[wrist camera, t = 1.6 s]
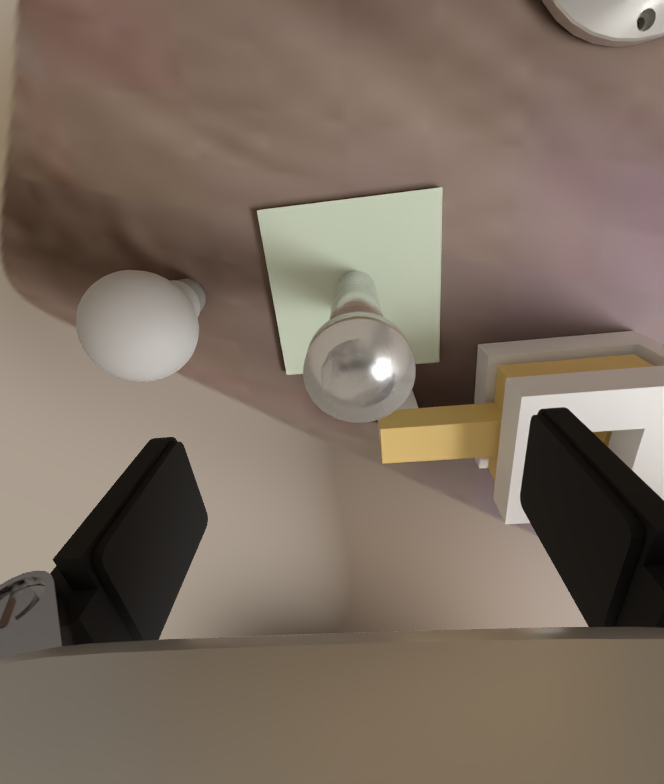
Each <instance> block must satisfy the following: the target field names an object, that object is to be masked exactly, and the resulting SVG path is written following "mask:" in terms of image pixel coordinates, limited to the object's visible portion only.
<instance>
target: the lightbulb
mask: <svg viewBox="0 0 664 784" xmlns="http://www.w3.org/2000/svg"><path fill="white" fill-rule="evenodd" d="M205 303H206V295H205V292H204V290H203V288H202V287H201V286H200V285H199V284H198V283H197V282H195V281H193V280H191V279H181V280H177V281H176V280H170V281H169V280H168V279H166V278H164V277H162V276H160V275H157V274H155V273H151V272H147V271H139V270H123V271H117V272H114V273H111V274H109V275H106V276H104V277H102V278H100V279H99V280H98V281H96V282H95V283H94V284H93V285H92V286H90V287H89V289H88V290H87V291H86V292H85V294H84V295H83V297H82V299H81V301H80V303H79V305H78V308H77V314H76V329H77V334H78V338H79V340H80V343H81V344H82V347H83V349H84V350H85V351H86V353H87V355H88V356H89V357H90V358H91V359H92V360H93V361H94V362H95V363H96V364H97V365H98V366H99V367H101V368H102V369H103V370H105V371H107V372H108V373H110V374H112V375H114V376H117V377H119V378H122V379H127V380H131V381H141V382H145V381H153V380H158V379H161V378H164V377H167V376H169V375H171V374H173V373H175V372H176V371H178V370H180V369H181V368H182V367H183V366H184V365H185V364H186V363H187V361H188V360H189V359H190V358H191V356H192V354H193V353H194V350H195V347H196V344H197V341H198V336H199V325H198V319H197V318H198V316H199V313H200V311H201V310H202V309H203V307H204V306H205Z"/></svg>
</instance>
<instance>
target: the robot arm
mask: <svg viewBox="0 0 664 784" xmlns="http://www.w3.org/2000/svg"><path fill="white" fill-rule="evenodd" d="M542 2H543V3H544V5H545V6H546V7H547V9H548V10H549V12H550V13H551V14H552V16H553V17H554V19H555V20H556V21H557V22H558V23H559V24H560V25H562V26H563V27H564V28H565V29H566V30H568V31H569V32H570V33H571V34H572V35H574V36H576V37H579V38H581V39H583V40H585V41H588V42H590V43H592V44H598V45H604V46H611V47H619V46H630V45H638V44H641V43H644V42H648V41H651V40H654V39H657V38H660V37H663V36H664V0H542ZM637 21H638V22H639V28H638V27H637ZM520 502H521V506H522V508H523V511H524V512H525V514H526V516H527V518H528V519H529V521H530V523H531V525H532V527H533V528H534V530H535V532H536V534H537V535H538V537H539V539H540V541H541V543H542V544H543V546H544V548H545V549H546V551H547V553H548V555H549V557H550V558H551V560H552V562H553V564H554V565H555V567H556V569H557V571H558V573H559V574H560V576H561V578H562V580H563V582H564V583H565V585H566V587H567V589H568V591H569V592H570V594H571V596H572V598H573V599H574V601H575V603H576V605H577V606H578V608H579V610H580V612H581V613H582V615H583V617H584V619H585V620H586V623H587V624H588V626H589V627H553V628H552V627H549V628H509V629H472V630H433V631H399V632H369V633H368V632H366V633H336V634H335V633H334V634H305V635H304V634H303V635H273V636H247V637H219V638H193V639H168V640H167V639H166V640H158V639H159V637H160V635H161V632H162V630H163V628H164V625H165V623H166V621H167V618H168V616H169V614H170V611H171V609H172V607H173V604H174V602H175V599H176V597H177V595H178V593H179V590H180V588H181V586H182V583H183V581H184V578H185V576H186V574H187V571H188V569H189V567H190V564H191V562H192V560H193V557H194V555H195V553H196V550H197V548H198V546H199V543H200V541H201V539H202V536H203V534H204V532H205V529H206V526H207V522H208V517H207V512H206V509H205V506H204V503H203V500H202V497H201V494H200V491H199V489H198V486H197V483H196V480H195V477H194V474H193V471H192V468H191V466H190V462H189V459H188V457H187V454H186V451H185V448H184V445H183V444H182V443H181V442H177V440H176V439H175V438H173V437H167V438H154V439H151V440H150V441H149V442H148V443H147V444H146V445H145V447H144V448H143V449H142V450H141V452H140V453H139V454H138V455H137V457H136V458H135V459H134V460H133V461H132V463H131V464H130V465H129V466H128V468H127V469H126V470H125V472H124V473H123V474H122V475H121V476H120V478H119V479H118V480H117V481H116V482H115V484H114V485H113V486H112V487H111V489H110V490H109V491H108V492H107V494H106V495H105V496H104V497H103V498H102V500H101V501H100V502H99V503H98V505H97V506H96V507H95V508H94V509H93V511H92V512H91V513H90V514H89V516H88V517H87V518H86V519H85V520H84V522H83V523H82V524H81V526H80V527H79V528H78V529H77V531H76V532H75V533H74V534H73V535H72V537H71V538H70V539H69V540H68V541H67V543H66V544H65V545H64V546H63V548H62V549H61V550H60V551H59V552H58V554H57V555H56V556H55V557H54V559H53V561H54V562H55V564H56V565H57V566H56V567H55V568H54V570H53V571H52V572H51V573H50V574H49V573H48V572H45V571H32V572H27V573H23V574H21V575H19V576H16V577H14V578H11V579H10V580H8V581H6V582H4V583H3V584H1V585H0V784H664V500H663V499H662V498H661V497H660V496H659V495H658V494H657V493H655V492H654V491H653V490H652V489H651V488H650V487H649V486H648V485H647V484H646V483H645V482H644V481H643V480H642V479H641V478H640V477H639V476H638V475H637V474H636V473H635V472H634V471H632V470H631V469H630V468H629V467H628V466H627V465H626V464H625V463H624V462H623V461H622V460H621V459H620V458H619V457H618V456H617V455H616V454H615V453H614V452H613V451H612V450H611V449H610V448H608V447H607V446H606V445H605V444H604V443H603V442H602V441H601V440H600V439H599V438H598V437H597V436H596V435H595V434H594V433H593V432H592V431H591V430H590V429H589V428H588V427H587V426H586V425H584V424H583V423H582V422H581V421H580V420H579V419H578V418H577V417H576V416H575V415H574V414H573V413H572V412H571V411H570V410H569V409H567V408H566V407H559V408H546V409H540V410H539V412H538V414H537V415H533V416H532V417H531V421H530V427H529V434H528V441H527V449H526V456H525V463H524V470H523V477H522V484H521V491H520Z"/></svg>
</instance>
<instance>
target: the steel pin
mask: <svg viewBox="0 0 664 784" xmlns="http://www.w3.org/2000/svg"><path fill="white" fill-rule="evenodd" d="M415 374H416V368H415V361H414V357H413V354H412V352H411V349H410V346H409V344H408V341H407V339H406V337H405V336H404V334H403V333H402V331H401V330H400V329H399V328H398V327H397V326H396V325H395V324H394V323H392V322H391V321H390V320H388V319H386V318H384V316H383V312H382V309H381V305H380V301H379V297H378V293H377V290H376V286H375V283H374V281H373V279H372V278H371V277H370V276H369V275H368V274H366V273H364V272H361V271H350V272H347V273H345V274H344V275H342V276H341V277H340V278H339V279H338V281H337V283H336V285H335V289H334V295H333V301H332V307H331V313H330V319H329V321H327V322H326V323H325V324H324V325H322V326H321V327H320V328H319V330H318V331H317V332H316V333H315V335H314V336H313V338H312V340H311V342H310V344H309V347H308V350H307V353H306V357H305V361H304V366H303V379H304V384H305V387H306V390H307V392H308V394H309V396H310V398H311V399H312V400H313V402H314V403H315V404H316V405H317V406H318V407H319V408H320V409H321V410H322V411H324V412H325V413H326V414H328V415H330V416H332V417H334V418H336V419H339V420H342V421H346V422H353V423H364V422H371V421H375V420H378V419H381V418H384V417H386V416H388V415H390V414H391V413H393V412H394V411H395V410H397V409H398V408H399V407H400V406H401V405H402V404H403V403H404V402H405V400H406V399H407V398H408V396H409V394H410V392H411V390H412V388H413V385H414V381H415Z"/></svg>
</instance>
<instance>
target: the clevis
mask: <svg viewBox="0 0 664 784" xmlns="http://www.w3.org/2000/svg"><path fill="white" fill-rule="evenodd" d="M559 407H566V408H567V409H569V410H570V411H571V412H572V413H573V414H574V415H575V416H576V417H577V418H578V419H579V420H580V421H581V422H582V423H583V424H584V425H586V426H587V427H588V428H589V429H590V430H591V431H592V432H593V433H594V434H595V435H596V436H597V437H598V438H599V439H600V440H601V441H602V442H603V443H604V444H605V445H606V446H607V447H608V448H610V449H611V450H612V451H613V452H614V453H615V454H616V455H617V456H618V457H619V458H620V459H621V460H622V461H623V462H624V463H625V464H626V465H627V466H628V467H629V468H630V469H631V470H632V471H634V472H635V473H636V474H637V475H638V476H639V477H640V478H641V479H642V480H643V481H644V482H645V483H646V484H647V485H648V486H649V487H650V488H651V489H652V490H653V491H654V492H655V493H657V494H658V495H659V496H660V497H661V498H662V499H663V500H664V345H662V344H660V343H658V342H656V341H654V340H652V339H649V338H647V337H645V336H643V335H641V334H639V333H637V332H635V331H624V332H612V333H601V334H589V335H578V336H566V337H555V338H543V339H532V340H520V341H509V342H498V343H486V344H478V351H477V366H476V381H475V396H474V404H468V405H454V406H441V407H427V408H418V406H417V402H416V399H415V396H414V393H413V390H411V392H410V394H409V396H408V398H407V399H406V400H405V402H404V403H403V404H402V405H401V406H400V407H399V408H398V409H397V410H395V411H394V412H393V413H391V414H390V415H388V416H386V417H384V418H381V419H378V429H379V437H380V446H381V454H382V463H398V462H415V461H431V460H447V459H464V458H475V460H476V463H477V465H478V467H479V468H488V469H489V471H490V473H491V475H492V477H493V479H494V481H495V486H494V495H493V499H494V501H495V504H496V506H497V508H498V510H499V512H500V514H501V517H502V519H503V521H504V523H505V524H521V523H530V521H529V519H528V518H527V516H526V514H525V512H524V511H523V508H522V506H521V502H520V491H521V484H522V477H523V470H524V463H525V456H526V449H527V441H528V434H529V427H530V421H531V417H532V416H533V415H537V414H538V412H539V410H540V409H546V408H559Z"/></svg>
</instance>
